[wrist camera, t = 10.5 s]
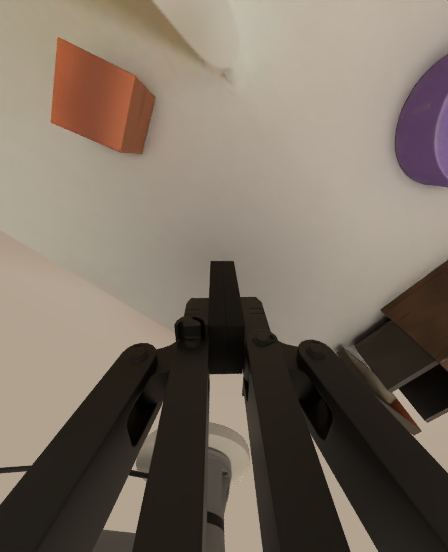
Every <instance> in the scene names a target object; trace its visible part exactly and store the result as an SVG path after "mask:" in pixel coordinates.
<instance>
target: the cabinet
mask: <svg viewBox="0 0 448 552" xmlns="http://www.w3.org/2000/svg"><path fill="white" fill-rule="evenodd" d="M381 311H382V312H383V313H384V314H385V315H386V316H387V317H388V318H389V319H390V320H392V321H393V322H394V323H395V324H396V325H397V326H398V327H400V328H401V329H402V330H403V331H404V332H405V333H406V334H407V335H408V336H410V337H411V338H412V339H413V340H414V341H415V342H416V343H417V344H418V345H420V346H421V347H422V348H423V349H424V350H425V351H426V352H427V353H428V354H430V355H431V356H432V357H433V358H434V359H435V360H436V361H437V362H438V363H439V364H440V365H441V366H442V367H443V368H444V369H445V370H446V371H447V372H448V261H447V262H445V263H444V264H442V265H441V266H440V267H438V268H437V269H436V270H434V271H433V272H432V273H430V274H429V275H427V276H426V277H425V278H423V279H422V280H421V281H419V282H418V283H417V284H415V285H414V286H413V287H411V288H410V289H408V290H407V291H406V292H404V293H403V294H402V295H400V296H399V297H398V298H396V299H395V300H393V301H392V302H391V303H389V304H388V305H387V306H385V307H384V308H383V309H381Z"/></svg>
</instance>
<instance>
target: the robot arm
mask: <svg viewBox="0 0 448 552" xmlns="http://www.w3.org/2000/svg"><path fill="white" fill-rule="evenodd" d="M174 326H175V336H176V342H175V343H173V344H172V345H170V346H167V347H164V348H161V349H157V350H156V348H155V347H154V346H153V345H150V344H148V343H139V344H135V345H133V346H131V347H129V348H127V349H126V350H125V351H124V352H123V353H122V354H121V355H120V357H119V358H118V359H117V360H116V361H115V363H114V364H113V365H112V366H111V368H110V369H109V370H108V371H107V373H106V374H105V375H104V376H103V378H102V379H101V380H100V381H99V383H98V384H97V385H96V386H95V388H94V389H93V390H92V391H91V393H90V394H89V395H88V396H87V397H86V399H85V400H84V401H83V402H82V404H81V405H80V406H79V408H78V409H77V410H76V411H75V412H74V414H73V415H72V416H71V418H70V419H69V420H68V421H67V422H66V424H65V425H64V426H63V427H62V429H61V430H60V431H59V432H58V434H57V435H56V436H55V437H54V439H53V440H52V441H51V442H50V444H49V445H48V446H47V447H46V449H45V450H44V451H43V452H42V454H41V455H40V456H39V457H38V458H37V460H36V461H35V462H34V463H33V465H32V466H19V467H5V468H0V473H10V472H22V471H27V472H26V474H25V475H24V476H23V477H22V479H21V480H20V481H19V482H18V483H17V485H16V486H15V487H14V488H13V490H12V491H11V492H10V493H9V495H8V496H7V497H6V498H5V500H4V501H3V502H2V503H1V505H0V552H225V545H224V512H225V507H226V502H227V500H228V499H227V498H228V495H229V494H228V493H229V488H230V483H231V478H232V469H231V461H230V459H229V458H228V457H227V455H225V454H224V453H223V452H221V451H219V450H217V449H214V448H211V447H208V438H209V391H210V390H209V389H210V382H209V381H210V380H209V374H239V373H240V374H242V368H243V375H244V377H243V391H242V392H243V393H242V396H244V397H245V405H246V412H247V421H248V430H249V439H250V447H251V455H252V464H253V472H254V480H255V489H256V497H257V505H258V513H259V522H260V530H261V538H262V546H263V552H350V549H349V546H348V543H347V540H346V537H345V535H344V531H343V529H342V526H341V523H340V520H339V517H338V514H337V511H336V508H335V505H334V502H333V499H332V496H331V493H330V491H329V488H328V485H327V482H326V479H325V476H324V473H323V470H322V467H321V464H320V461H319V458H318V455H317V453H316V450H315V447H314V444H313V441H312V438H311V436H312V437H313V439H314V440H315V443H316V444H317V446H318V448H319V449H320V451H321V453H322V455H323V456H324V458H325V460H326V462H327V463H328V465H329V467H330V469H331V470H332V472H333V474H334V475H335V477H336V479H337V481H338V482H339V484H340V486H341V487H342V489H343V491H344V493H345V495H346V496H347V498H348V500H349V501H350V503H351V505H352V507H353V508H354V510H355V512H356V514H357V515H358V517H359V519H360V521H361V522H362V524H363V525H364V527H365V529H366V531H367V533H368V534H369V536H370V538H371V540H372V541H373V543H374V545H375V547H376V548H377V550H378V552H448V473H447V472H446V471H445V470H444V469H443V468H442V467H441V466H440V464H438V462H437V461H436V460H435V459H434V458H433V457H432V456H431V455H430V454H429V453H428V452H427V451H426V449H424V447H423V446H422V445H421V444H420V443H419V442H418V441H417V440H416V439H415V438H414V437H413V436H412V435H411V434H410V432H409V431H408V430H407V429H406V428H405V427H404V426H403V425H402V424H401V423H400V422H399V421H398V420H397V419H396V418H395V416H394V415H393V414H392V413H391V412H390V411H389V410H388V409H387V408H386V407H385V406H384V405H383V404H382V403H381V402H380V401H379V399H378V398H377V397H376V396H375V395H374V394H373V393H372V392H371V391H370V390H369V389H368V388H367V387H366V386H365V385H364V384H363V382H362V381H361V380H360V379H359V378H358V377H357V376H356V375H355V374H354V373H353V372H352V371H351V370H350V369H349V368H348V366H347V365H346V364H345V363H344V362H343V361H342V360H341V359H340V358H339V357H338V356H337V355H336V354H335V353H334V352H333V351H332V349H331V348H329V347H328V346H327V345H326V344H324V343H322V342H320V341H316V340H305V341H302V342H301V343H300V344H299V346H298V347H296V346H292V345H287V344H284V343H282V342H280V341H278V339H277V337H276V336H275V335H274V334H273V333H271V331H270V328H269V325H268V321H267V318H266V315H265V312H264V309H263V306H262V303H261V301H260V300H258V299H257V298H256V297H240V293H239V288H238V282H237V277H236V271H235V266H234V261H211V265H210V288H209V298H191V299H190V300H189V301H188V303H187V304H186V309H185V314H184V317H181V318H180V319H179V320H177V321H176V323H175V325H174ZM162 403H163V406H162V411H161V416H160V420H159V425H158V430H157V435H156V439H155V444H154V449H153V454H152V459H151V463H150V468H149V473H144V472H139V471H134V470H131V469H132V467H133V465H134V463H135V460H136V458H137V456H138V454H139V452H140V450H141V448H142V446H143V444H144V441H145V439H146V437H147V435H148V433H149V431H150V429H151V426H152V424H153V422H154V420H155V418H156V416H157V414H158V412H159V410H160V408H161V405H162ZM310 434H311V435H310ZM128 475H130V476H135V477H140V478H146V479H147V482H146V488H145V492H144V497H143V502H142V506H141V512H140V516H139V521H138V526H137V530H136V533H128V532H119V531H109V530H103V528H104V526H105V524H106V522H107V519H108V517H109V515H110V513H111V511H112V509H113V507H114V505H115V503H116V500H117V498H118V496H119V494H120V492H121V490H122V488H123V486H124V484H125V482H126V479H127V477H128Z"/></svg>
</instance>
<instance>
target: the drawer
mask: <svg viewBox="0 0 448 552" xmlns="http://www.w3.org/2000/svg"><path fill="white" fill-rule="evenodd" d="M354 347H355V348H356V350H357V351H358V352H359V354H360V355H361V356H362V358H363V359H364V360H365V361H366V363H367V364H368V365H369V367H370V368H371V369H372V371H373V372H374V373H375V374H374V373H373V372H371V371H370V370H369V369H368V368H367V367H365V366H364V365H363V364H362V363H361V362H359V361H358V360H357V359H356V358H354V357H353V356H352V355H351V354H350V353H348V352H347V351H346V350H345V349H344V348H342V349H341V350H339V351H338V352H337V354H338V356H339V357H340V359H341V360H342V361H343V362H344V363H345V364H346V365H347V366H348V368H349V369H350V370H351V371H352V372H353V373H354V374H355V375H356V376H357V377H358V378H359V379H360V380H361V381H362V382H363V384H364V385H365V386H366V387H367V388H368V389H369V390H370V391H371V392H372V393H373V394H374V395H375V396H376V397H377V398H378V399H379V401H380V402H381V403H382V404H383V405H384V406H385V407H386V408H387V409H388V410H389V411H390V412H391V413H392V414H393V415H394V416H395V418H396V419H397V420H398V421H399V422H400V423H401V424H402V425H403V426H404V427H405V428H406V429H407V430H408V431H409V432H410V433H411V434H413V435H416V434H418V433H419V432H421V430H420V428H419V427H418V426H417V424H416V423H415V422H414V420H413V419H412V418H411V417H410V415H409V414H408V412H407V411H406V410H405V409H404V407H403V406H402V405H401V403H400V402H399V401H398V399H397V398H396V397H395V396H394V394H393V393H392V392H393V391H395V390H397V389H398V388H399V390H400V391H401V392H402V393H403V395H404V396H405V397H406V398H407V399H408V401H409V402H410V403H411V404H412V406H413V407H414V408H415V409H416V411H417V412H418V413H419V414H420V415H421V417H422V418H423V419H424V420H425V421H426V422H430V421H432V420H433V419H435V418H437V417H439V416H441V415H443V414H445V413H447V412H448V372H447V371H446V370H445V369H444V368H443V367H442V366H441V365H440V364H439V363H438V362H437V361H436V360H435V359H434V358H433V357H432V356H431V355H430V354H428V353H427V352H426V351H425V350H424V349H423V348H422V347H421V346H420V345H418V344H417V343H416V342H415V341H414V340H413V339H412V338H411V337H410V336H408V335H407V334H406V333H405V332H404V331H403V330H402V329H401V328H400V327H398V326H397V325H396V324H395V323H394V322H393V321H392V320H391V321H389V322H388V323H386V324H385V325H384V326H382V327H381V328H379V329H378V330H376V331H375V332H374V333H372V334H371V335H369V336H368V337H367V338H365V339H364V340H362V341H361V342H360V343H358V344H357V345H355V346H354Z"/></svg>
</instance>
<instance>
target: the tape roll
mask: <svg viewBox="0 0 448 552" xmlns="http://www.w3.org/2000/svg"><path fill="white" fill-rule="evenodd" d="M395 146H396V154H397V158H398V161H399V164H400V166H401V167H402V169H403V170H404V172H405V173H406V174H407V175H408V176H409V177H410V178H412V179H413V180H415V181H417V182H419V183H422V184H426V185H433V186H442V187H448V55H446V56H445V57H444V58H442V59H441V60H440V61H438V62H437V63H436V64H435V65H434V66H432V67H431V68H430V69H429V70H428V71H427V72H426V74H425V75H424V76H423V77H422V78H421V79H420V81H419V82H418V83H417V85H416V86H415V87H414V89H413V91H412V92H411V94H410V95H409V97H408V99H407V101H406V103H405V105H404V107H403V109H402V112H401V114H400V117H399V121H398V125H397V130H396V139H395Z"/></svg>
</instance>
